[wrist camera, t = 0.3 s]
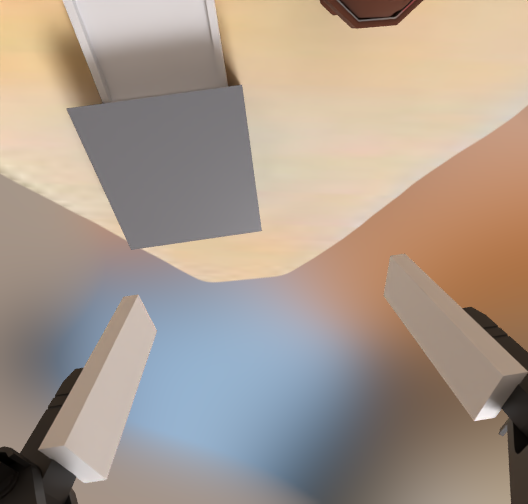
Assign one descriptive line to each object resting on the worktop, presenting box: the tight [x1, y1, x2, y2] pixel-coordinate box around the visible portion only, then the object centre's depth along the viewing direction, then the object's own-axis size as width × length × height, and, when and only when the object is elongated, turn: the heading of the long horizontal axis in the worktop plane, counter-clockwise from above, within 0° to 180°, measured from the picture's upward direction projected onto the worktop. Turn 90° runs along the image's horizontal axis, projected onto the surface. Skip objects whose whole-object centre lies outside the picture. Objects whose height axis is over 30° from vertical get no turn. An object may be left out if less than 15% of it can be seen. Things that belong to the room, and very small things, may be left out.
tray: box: [63, 0, 228, 104], centre depth 25 cm, size 16×17×6 cm
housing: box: [67, 85, 262, 250], centre depth 32 cm, size 16×17×7 cm
